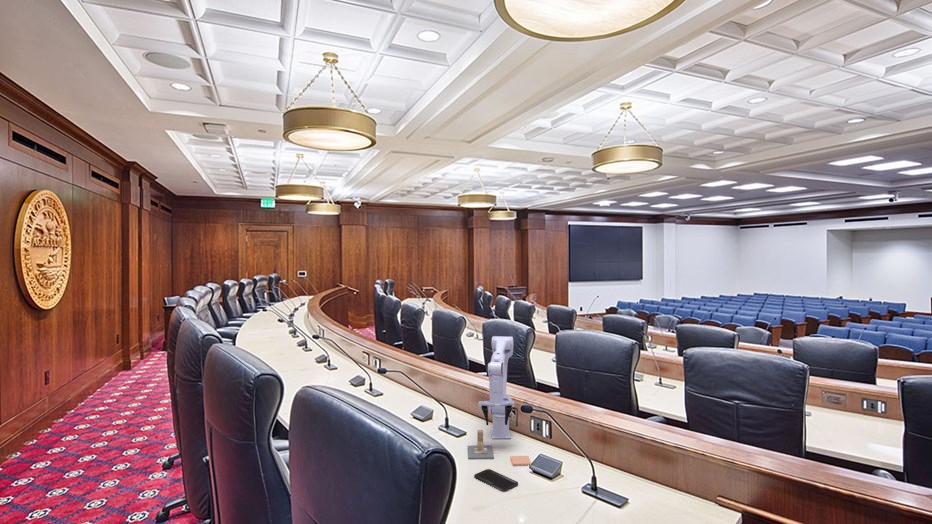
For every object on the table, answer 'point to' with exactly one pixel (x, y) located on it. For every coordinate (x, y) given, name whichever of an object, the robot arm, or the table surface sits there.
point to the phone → (496, 480)
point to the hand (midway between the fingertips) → (496, 424)
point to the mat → (473, 456)
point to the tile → (520, 460)
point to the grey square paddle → (480, 444)
